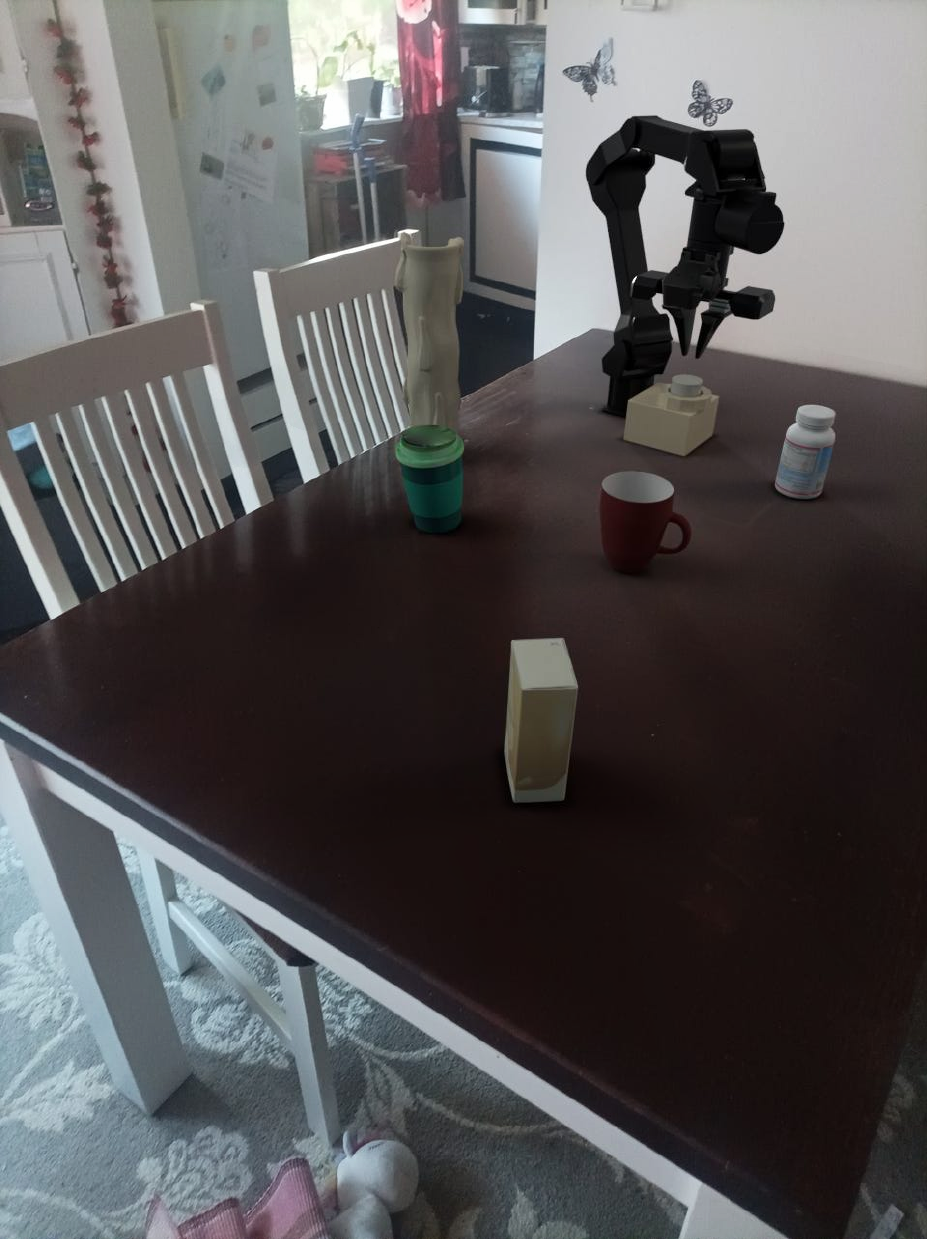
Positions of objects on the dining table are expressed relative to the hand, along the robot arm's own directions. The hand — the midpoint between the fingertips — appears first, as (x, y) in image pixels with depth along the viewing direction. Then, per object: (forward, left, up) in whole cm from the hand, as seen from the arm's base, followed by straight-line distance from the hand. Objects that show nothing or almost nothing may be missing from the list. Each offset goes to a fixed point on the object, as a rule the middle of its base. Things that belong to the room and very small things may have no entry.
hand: (691, 356), depth 123 cm
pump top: (0, 0, -5) cm, 5 cm away
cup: (-13, -43, -13) cm, 47 cm away
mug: (+12, -36, -13) cm, 40 cm away
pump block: (-2, +1, -13) cm, 13 cm away
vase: (-26, -26, -13) cm, 39 cm away
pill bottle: (+20, -5, -13) cm, 24 cm away
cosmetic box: (+21, -72, -13) cm, 76 cm away
